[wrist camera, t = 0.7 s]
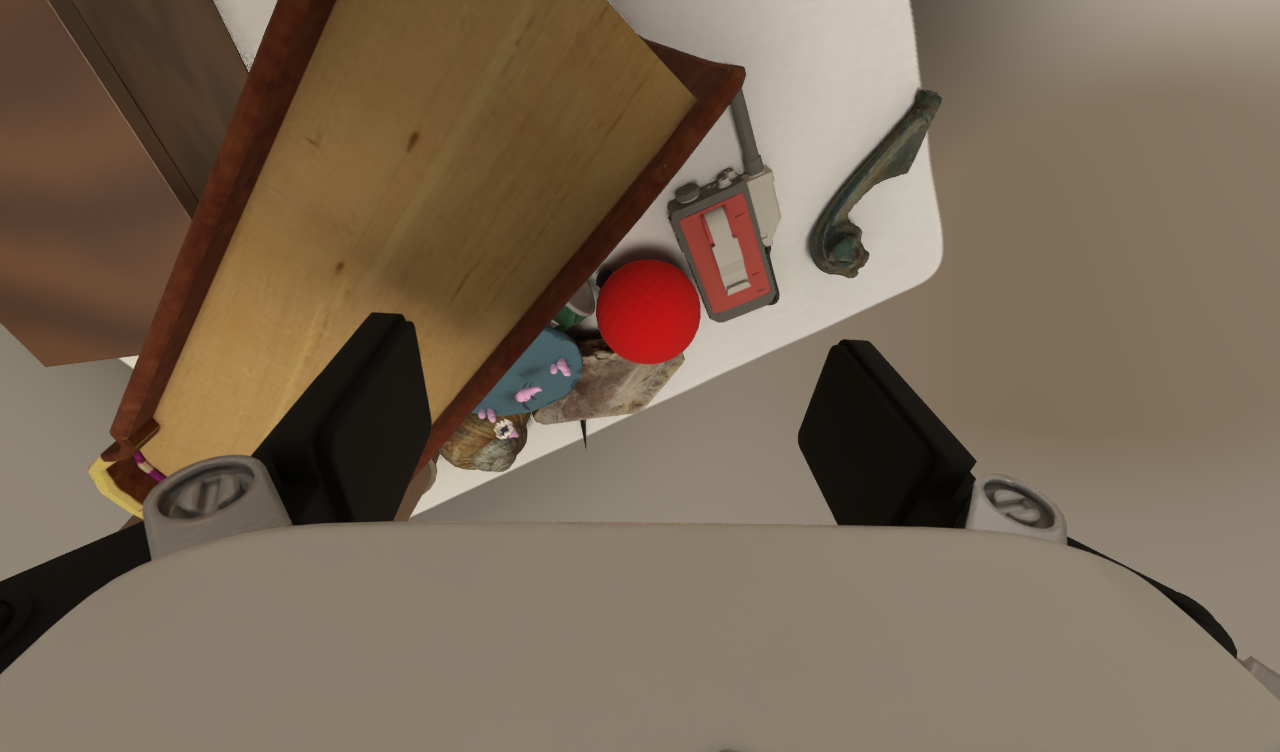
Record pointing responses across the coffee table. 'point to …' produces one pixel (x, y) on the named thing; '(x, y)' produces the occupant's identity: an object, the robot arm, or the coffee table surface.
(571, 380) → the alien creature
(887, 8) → the coffee table surface
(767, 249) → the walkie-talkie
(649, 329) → the ornament
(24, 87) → the wooden storage box
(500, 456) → the seashell
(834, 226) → the decorative handle
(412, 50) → the decorative book
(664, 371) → the stone
